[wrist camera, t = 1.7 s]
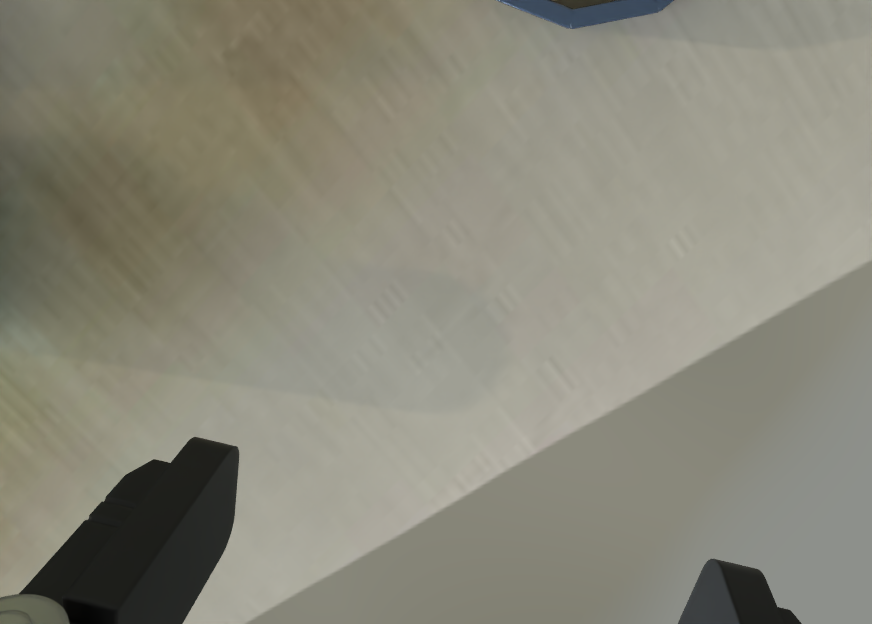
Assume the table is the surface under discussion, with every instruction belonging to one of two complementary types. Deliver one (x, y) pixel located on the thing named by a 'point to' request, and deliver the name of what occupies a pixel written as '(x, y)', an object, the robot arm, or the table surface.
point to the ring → (587, 11)
